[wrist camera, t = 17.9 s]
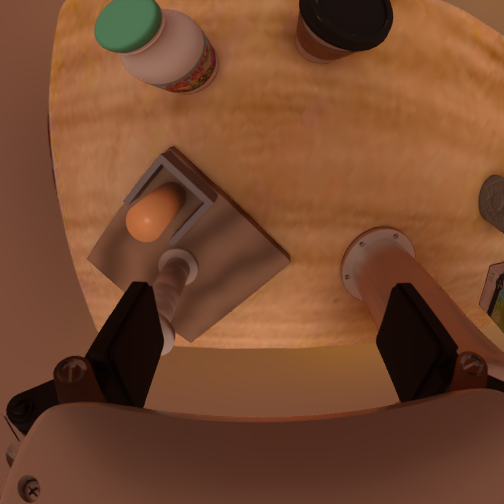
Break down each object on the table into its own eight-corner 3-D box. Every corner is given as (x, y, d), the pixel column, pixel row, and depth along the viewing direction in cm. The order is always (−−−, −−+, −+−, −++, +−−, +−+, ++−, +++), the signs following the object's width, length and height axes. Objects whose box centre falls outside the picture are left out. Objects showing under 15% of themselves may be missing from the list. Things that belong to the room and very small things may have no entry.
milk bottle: (149, 82, 31) (57, 57, 12) (179, 33, 28) (112, -32, 10) (199, 104, 32) (138, 86, 14) (230, 54, 29) (203, -13, 11)
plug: (192, 196, 35) (171, 222, 26) (173, 217, 37) (147, 249, 28) (169, 175, 34) (140, 195, 25) (151, 197, 35) (118, 223, 26)
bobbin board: (289, 255, 41) (307, 336, 26) (192, 335, 48) (172, 415, 32) (173, 146, 34) (114, 167, 19) (92, 253, 41) (33, 315, 26)
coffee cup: (344, 19, 26) (390, -26, 13) (352, 74, 30) (407, 51, 16) (281, 16, 27) (296, -39, 13) (288, 73, 30) (310, 41, 17)
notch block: (217, 195, 35) (214, 203, 32) (179, 235, 38) (173, 246, 34) (169, 150, 33) (160, 153, 30) (134, 194, 35) (123, 201, 32)
